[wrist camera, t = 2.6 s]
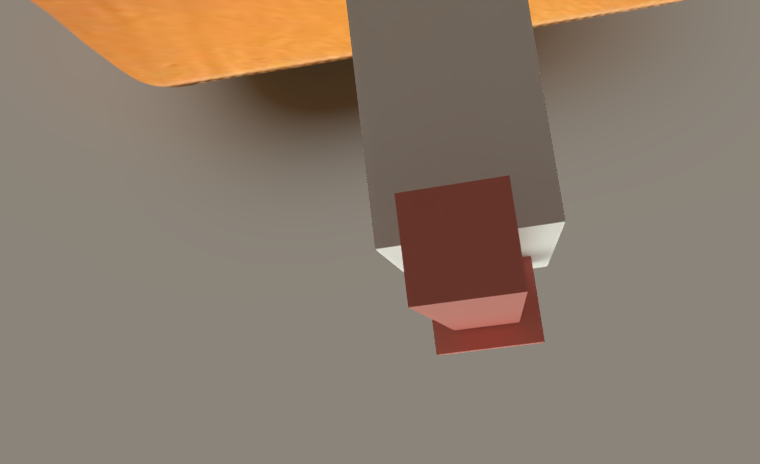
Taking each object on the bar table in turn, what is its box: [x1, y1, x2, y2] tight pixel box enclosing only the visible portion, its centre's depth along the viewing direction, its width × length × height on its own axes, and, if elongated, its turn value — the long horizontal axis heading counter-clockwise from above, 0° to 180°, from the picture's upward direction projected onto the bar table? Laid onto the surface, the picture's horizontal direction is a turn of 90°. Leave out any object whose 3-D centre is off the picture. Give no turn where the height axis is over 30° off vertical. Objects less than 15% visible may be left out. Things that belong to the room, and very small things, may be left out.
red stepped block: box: [394, 175, 544, 355], centre depth 27 cm, size 19×5×4 cm, turn 11°
